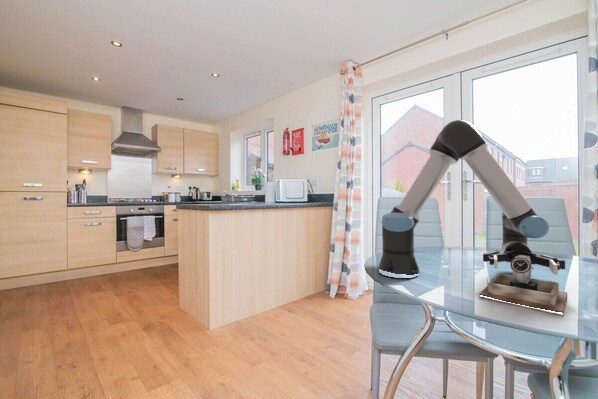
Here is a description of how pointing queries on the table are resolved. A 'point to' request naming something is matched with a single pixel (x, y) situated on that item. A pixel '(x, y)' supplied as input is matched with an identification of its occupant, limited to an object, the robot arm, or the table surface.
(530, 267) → the watch
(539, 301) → the board
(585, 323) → the table surface
